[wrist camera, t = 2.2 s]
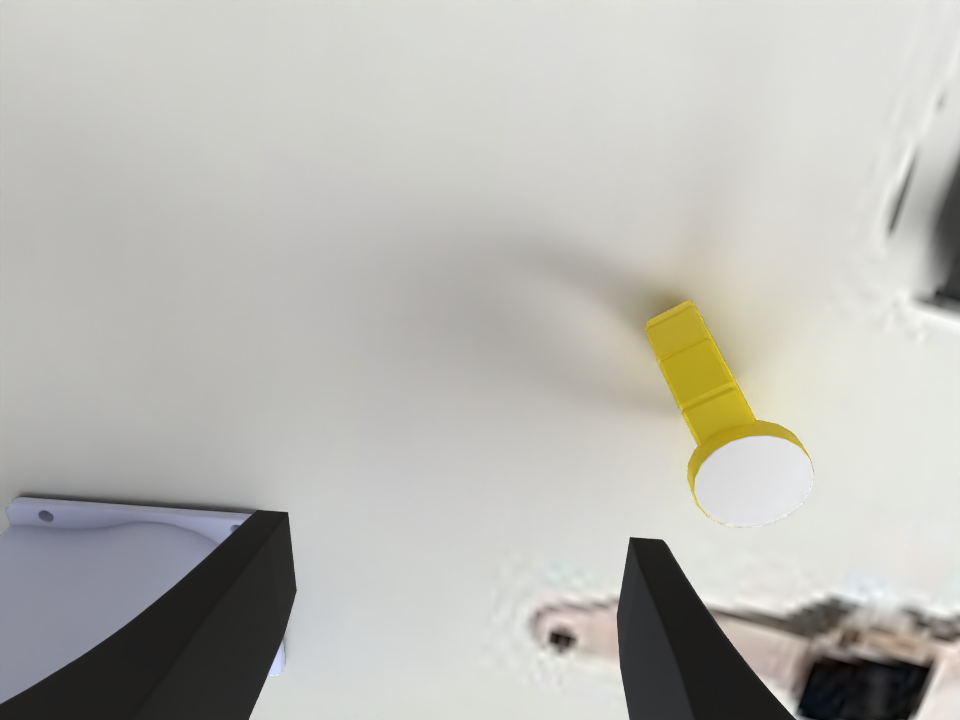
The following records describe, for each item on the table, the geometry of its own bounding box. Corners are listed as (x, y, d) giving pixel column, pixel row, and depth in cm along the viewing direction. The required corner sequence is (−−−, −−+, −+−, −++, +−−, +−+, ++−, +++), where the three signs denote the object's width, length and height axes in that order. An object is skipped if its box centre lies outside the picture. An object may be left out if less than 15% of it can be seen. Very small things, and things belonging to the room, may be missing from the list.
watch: (611, 304, 21) (636, 409, 16) (699, 259, 20) (756, 352, 15) (697, 451, 23) (744, 586, 18) (780, 415, 23) (854, 545, 17)
